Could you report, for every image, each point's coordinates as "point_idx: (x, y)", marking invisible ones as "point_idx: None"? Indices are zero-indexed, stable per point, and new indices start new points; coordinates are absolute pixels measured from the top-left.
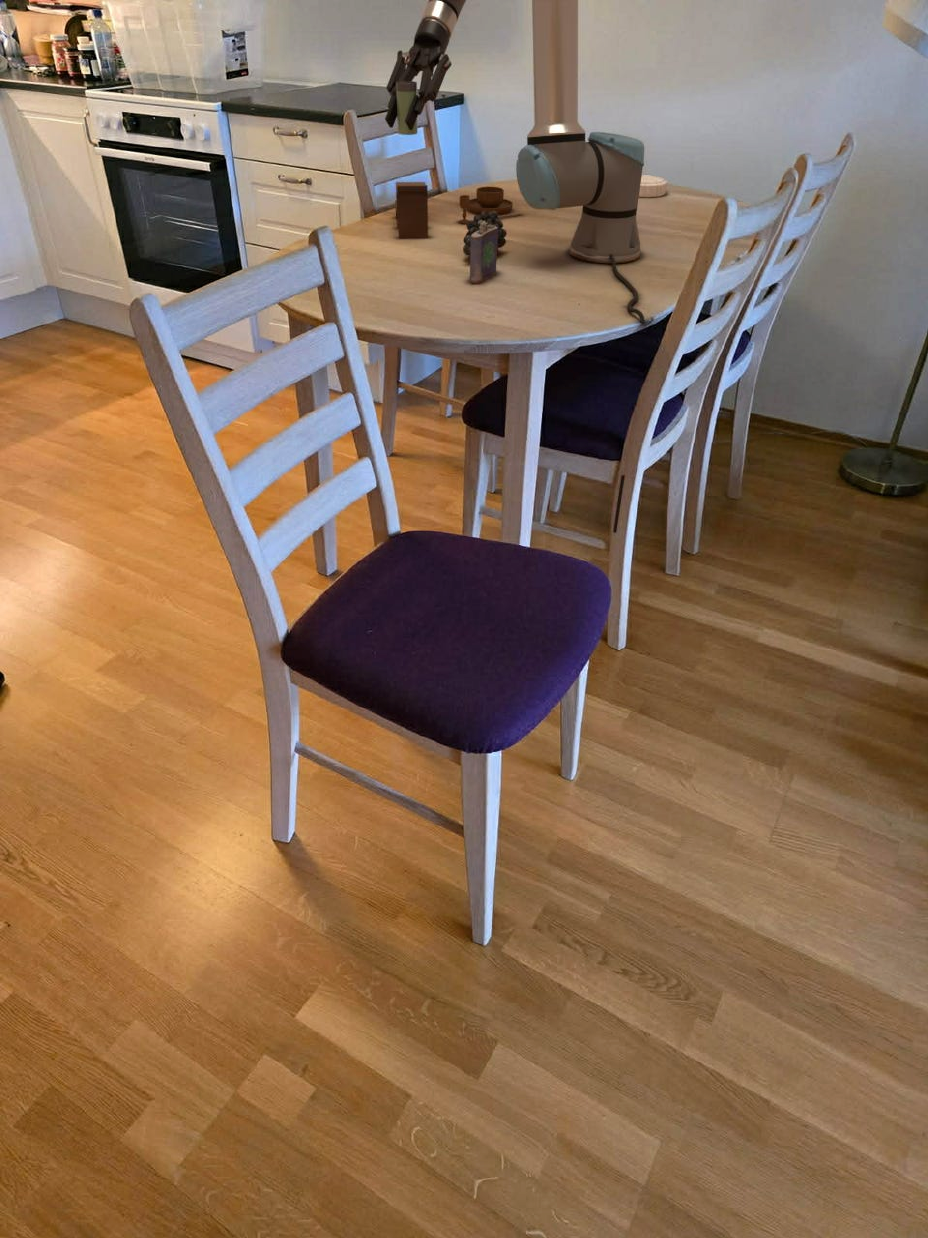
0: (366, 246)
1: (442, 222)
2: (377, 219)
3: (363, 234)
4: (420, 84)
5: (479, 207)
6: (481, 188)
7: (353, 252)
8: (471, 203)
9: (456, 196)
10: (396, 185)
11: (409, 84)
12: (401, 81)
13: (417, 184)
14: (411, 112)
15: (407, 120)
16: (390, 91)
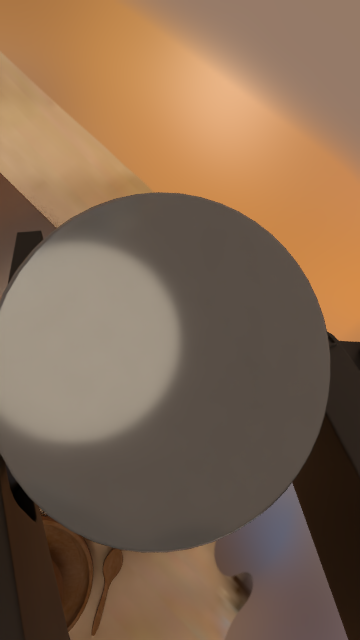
0: (34, 133)
1: None
2: None
3: (107, 200)
4: (7, 557)
5: None
6: None
7: (23, 85)
8: (87, 560)
9: (189, 598)
10: (46, 218)
11: (22, 271)
12: (292, 368)
13: (2, 270)
14: (10, 269)
15: (20, 235)
16: (348, 345)
